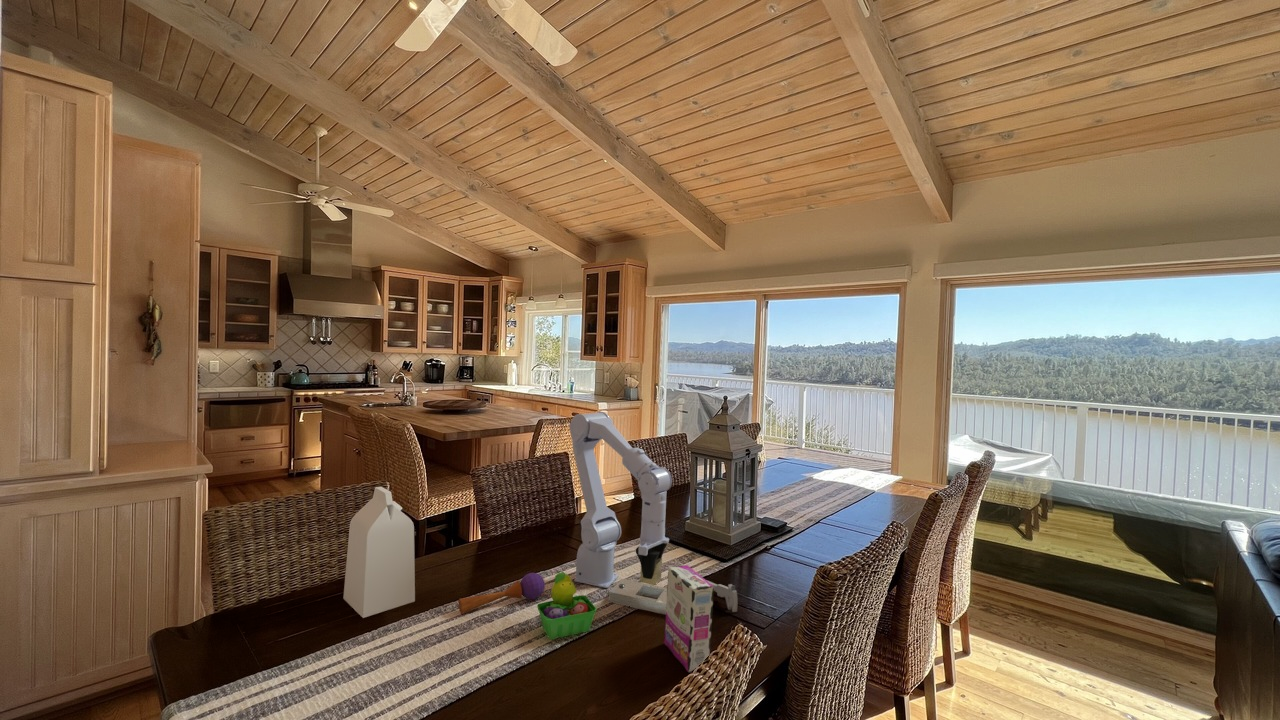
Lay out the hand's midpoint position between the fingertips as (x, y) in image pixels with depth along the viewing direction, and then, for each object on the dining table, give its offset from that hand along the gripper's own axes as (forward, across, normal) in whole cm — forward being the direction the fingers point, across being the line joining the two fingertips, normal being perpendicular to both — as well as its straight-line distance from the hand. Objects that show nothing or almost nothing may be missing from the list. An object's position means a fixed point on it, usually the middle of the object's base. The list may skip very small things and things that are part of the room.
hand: (650, 574), depth 130 cm
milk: (+7, -26, +58) cm, 64 cm away
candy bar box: (+7, -18, -14) cm, 24 cm away
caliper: (+8, +11, -13) cm, 19 cm away
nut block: (+2, 0, 0) cm, 2 cm away
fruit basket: (+7, -19, +13) cm, 24 cm away
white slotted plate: (+7, 0, 0) cm, 7 cm away
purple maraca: (+7, -15, +31) cm, 36 cm away
